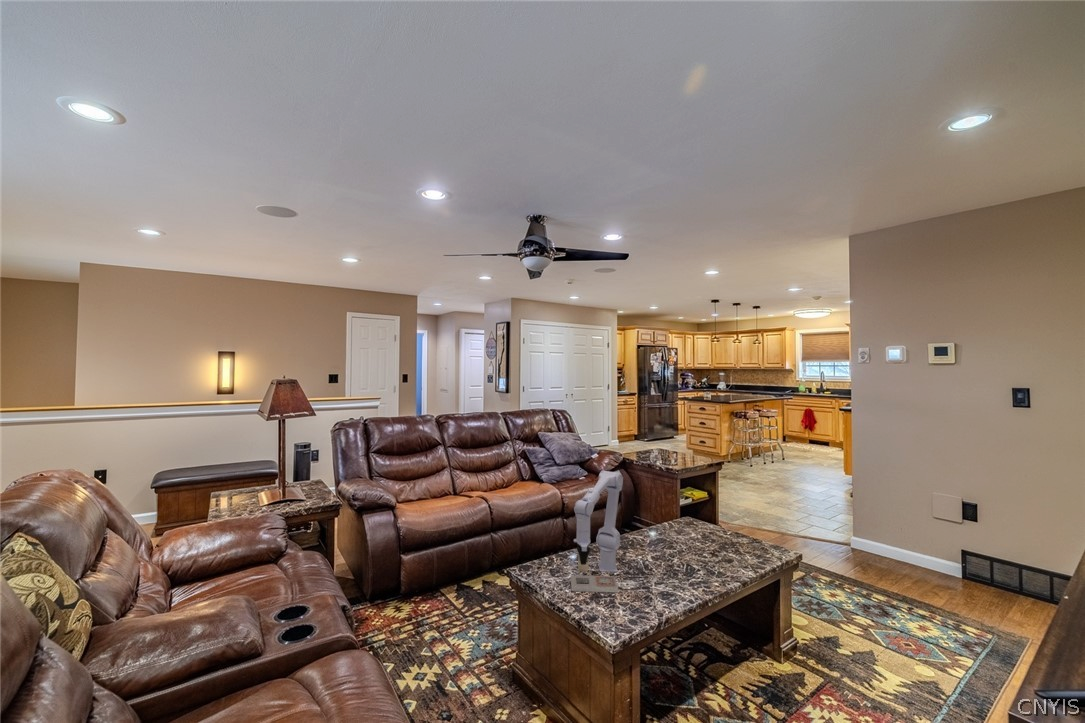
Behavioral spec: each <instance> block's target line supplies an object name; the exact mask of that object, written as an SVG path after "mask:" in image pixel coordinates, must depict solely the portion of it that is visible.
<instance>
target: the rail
mask: <svg viewBox="0 0 1085 723" xmlns="http://www.w3.org/2000/svg"><path fill="white" fill-rule="evenodd" d="M570 585H571V592H585V593H586V592H589V593H591V592H594V593H619V586H618V582H617V579H616V576H614V575H613V576H611V575H610V576H609V575H581V574H580V575H576V574H575V575H574V574H571V575H570Z"/></svg>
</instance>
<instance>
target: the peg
mask: <svg viewBox="0 0 1085 723" xmlns="http://www.w3.org/2000/svg"><path fill="white" fill-rule="evenodd" d="M577 571H578V572H589V556H588V557H587V562H586V565H581V563H580V556H579V553H578V552H577Z"/></svg>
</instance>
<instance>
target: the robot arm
mask: <svg viewBox="0 0 1085 723" xmlns="http://www.w3.org/2000/svg"><path fill="white" fill-rule="evenodd" d="M623 484H624V477H623V475H622V473H621V472H614V471H609V470H601V471H600V473H599V474H598V481H597V482H596V484H595V485H594V487H593V488H590V489H588V490H587V492H586V493H585V494H584V496H582V498H581V499H579V500H576V502H575V503H574V507H573V511H574V513H575V518H576V538H574V539H573V542H574V543H575V544H576V550H577V554H578V553H579V556H580V563H581V565H586V562H587V557H588V558H589V554H590V552H591V547H589V545H590V544H591V515H592V514H593V513H594V512H593V511H594V508H595V505H596V504H597V503H598V501H599V500H600V496H601V495H600V494H602V492H603V491H604V490H605V489H606V491H607V498H606V500H607V501H606V508H605V515H604V523H603V526H602V527H600V528H598V533H597V535H596V539H595V540H596V541H595V542H596V544H597V546H598V549H600V550H599V561H598V562H597V565H598V568H599V572H605V573H607V572H608V573H610V572H611V573H618V568H617V550H618V549H619V548H620V546H621V539H620V538H621V537H620V536H621V534H620V532H619V531H618V530H617V528H616V523H617V522H616V521H617V513H618V507H619V506H618V504H619V496H620V492H621V491H622V490H623Z"/></svg>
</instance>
